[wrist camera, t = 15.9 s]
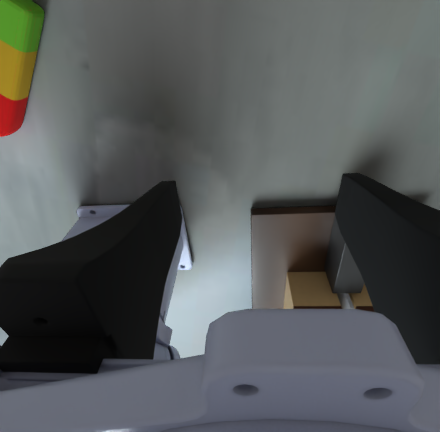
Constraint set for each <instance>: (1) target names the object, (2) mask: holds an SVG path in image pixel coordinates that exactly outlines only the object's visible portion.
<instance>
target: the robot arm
mask: <svg viewBox="0 0 440 432" xmlns="http://www.w3.org/2000/svg"><path fill="white" fill-rule="evenodd" d="M92 210H93V211H95V212H93V211H92ZM77 214H78V216H79V220H78V221H77V222H76V223H75V225H74V226H73V227H72V228H71V230H70V231H69V232H68V233H67V235H66V236H65V237H64V238H63V240H62V241H61V242H59V243H56V244H53V245H50V246H48V247H45V248H42V249H38V250H35V251H32V252H28V253H25V254H22V255H18V256H15V257H11V258H8V259H7V260H6V261H5V262H4V263H3V265H2V266H1V267H0V327H1V328H2V329H3V330H4V331H5V332H6V333H7V334H8V335H9V337H8V338H7V340H6V341H5V342H4V344H3V345H2V346H1V345H0V432H440V210H437V209H434V208H432V207H429V206H427V205H424V204H422V203H420V202H418V201H415V200H413V199H411V198H409V197H407V196H405V195H402V194H400V193H398V192H396V191H394V190H392V189H390V188H388V187H387V186H385V185H383V184H381V183H379V182H377V181H375V180H373V179H371V178H369V177H367V176H365V175H362V174H360V173H345V174H343V175H342V180H341V185H340V190H339V195H338V200H337V205H336V209H335V216H336V220H337V223H338V227H339V230H340V233H341V235H342V237H343V239H344V241H345V243H346V245H347V247H348V249H349V251H350V253H351V255H352V257H353V259H354V261H355V263H356V265H357V267H358V269H359V271H360V274H361V276H362V278H363V280H364V283H365V286H366V289H367V291H368V294H369V297H370V300H371V303H372V306H373V309H374V312H371V311H365V310H359V309H245V310H239V311H233V312H228V313H226V314H224V315H223V316H221V317H220V318H218V319H217V320H215V321H213V322H212V323H210V325H209V329H208V332H207V336H206V344H205V354H203V355H198V356H192V357H187V358H181V359H180V355H179V353H178V351H177V349H176V348H174V347H173V346H170V345H169V344H170V339H171V334H172V329H171V328H169V327H168V326H166V325H165V321H166V316H167V312H168V308H169V304H170V300H171V296H172V292H173V287H174V283H175V279H176V275H177V271H178V270H190V269H191V268H192V265H193V264H192V259H191V253H190V248H189V243H188V238H187V233H186V227H185V222H184V217H183V212H182V207H181V205H180V202H179V197H178V192H177V187H176V182H175V181H162V182H160V183H159V184H157V185H156V186H154V187H153V188H152V189H151V190H149V191H148V192H147V193H145V194H144V195H143V196H142V197H140V198H139V199H138V200H136V201H135V202H134V203H132V204H128V205H99V206H80V207H79V208H78V209H77ZM182 265H184V266H182Z"/></svg>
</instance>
